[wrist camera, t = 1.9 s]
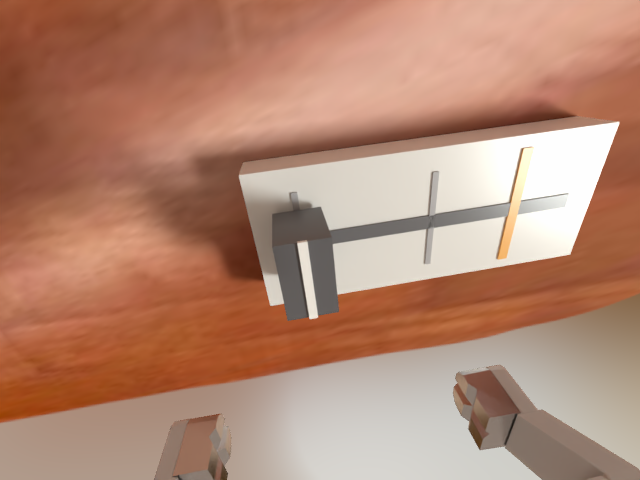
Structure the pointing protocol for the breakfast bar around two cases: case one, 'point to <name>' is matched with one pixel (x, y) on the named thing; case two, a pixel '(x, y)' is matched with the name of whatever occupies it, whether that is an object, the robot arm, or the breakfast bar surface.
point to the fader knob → (305, 263)
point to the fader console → (435, 200)
